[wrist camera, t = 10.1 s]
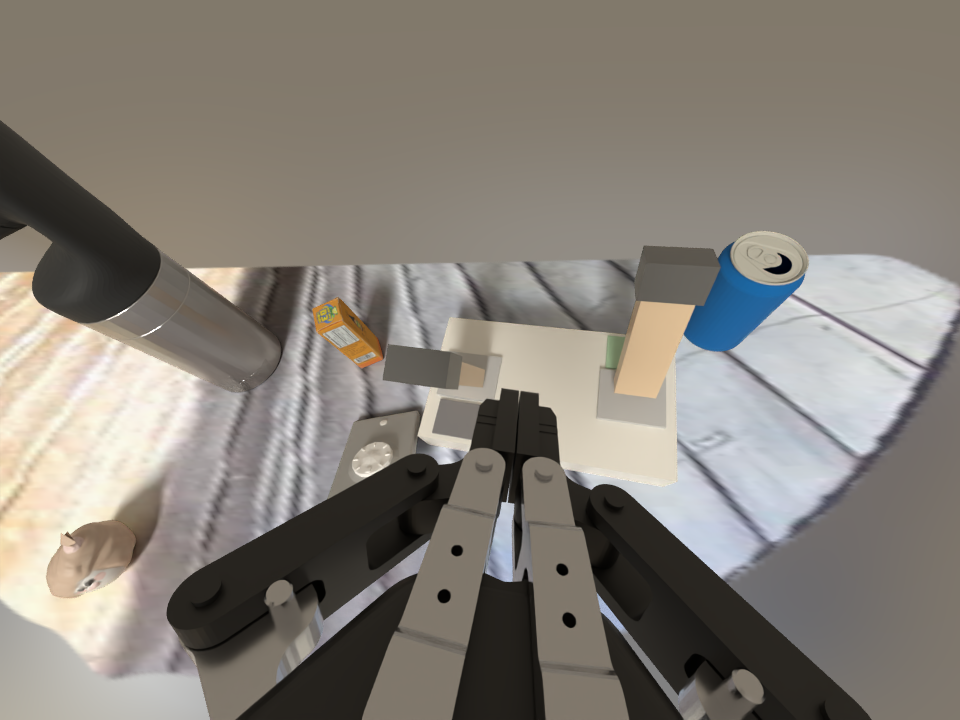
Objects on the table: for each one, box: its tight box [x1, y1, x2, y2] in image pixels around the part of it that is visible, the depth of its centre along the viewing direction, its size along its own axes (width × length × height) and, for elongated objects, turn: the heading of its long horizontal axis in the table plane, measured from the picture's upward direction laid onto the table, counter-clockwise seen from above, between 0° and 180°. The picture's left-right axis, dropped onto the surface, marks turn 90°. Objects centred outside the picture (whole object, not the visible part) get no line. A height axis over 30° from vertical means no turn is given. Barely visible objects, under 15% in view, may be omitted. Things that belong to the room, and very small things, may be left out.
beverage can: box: [684, 231, 809, 351], centre depth 35 cm, size 6×6×12 cm
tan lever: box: [614, 246, 721, 398], centre depth 29 cm, size 2×4×14 cm, turn 80°
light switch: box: [328, 411, 420, 499], centre depth 37 cm, size 8×5×13 cm
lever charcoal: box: [383, 344, 485, 390], centre depth 30 cm, size 2×4×14 cm, turn 78°
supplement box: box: [313, 297, 383, 368], centre depth 42 cm, size 3×3×10 cm
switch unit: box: [417, 317, 677, 487], centre depth 38 cm, size 14×24×4 cm, turn 79°
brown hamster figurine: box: [46, 520, 136, 598], centre depth 36 cm, size 7×6×8 cm
